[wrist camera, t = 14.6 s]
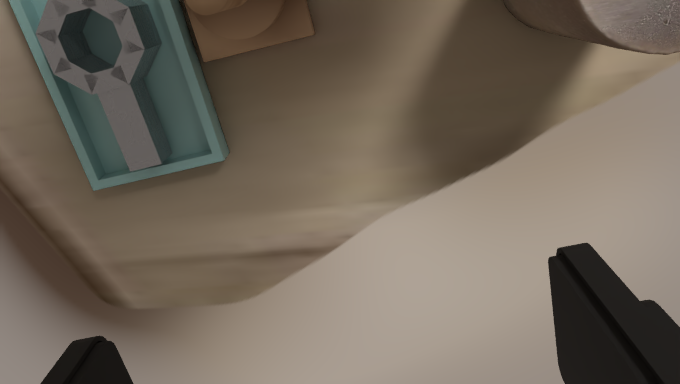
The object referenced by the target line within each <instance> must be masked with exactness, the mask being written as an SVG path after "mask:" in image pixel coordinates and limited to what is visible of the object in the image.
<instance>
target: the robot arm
mask: <svg viewBox="0 0 680 384" xmlns="http://www.w3.org/2000/svg"><path fill="white" fill-rule="evenodd" d="M548 264H549V276H550V285H551V295H552V305H553V316H554V325H555V336H556V346H557V356H558V365H559V369H560V372H561V376H562V378H563V381H564V383H565V384H680V327H679V326H678V325H677V324H676V323H675V322H674V321H673V320H672V319H671V317H670V316H669V315H668V314H667V313H666V312H665V311H664V310H663V309H662V308H661V307H660V306H659V305H658V304H657V303H655V302H654V301H652V300H644V301H639V300H638V299H637V297H636V296H635V295H634V294H633V293H632V292H631V291H630V289H629V288H628V287H627V286H626V285H625V284H624V283H623V282H622V280H621V279H620V278H619V277H618V276H617V275H616V274H615V273H614V271H613V270H612V269H611V268H610V267H609V266H608V265H607V264H606V262H605V261H604V260H603V259H602V258H601V257H600V256H599V255H598V253H597V252H596V251H595V250H594V249H593V248H592V247H591V245H590V244H588V243H582V244H577V245H571V246H566V247H561V248H558V249H557V253H556V256H553V257H549V260H548ZM41 384H133V382H132V380H131V378H130V375H129V373H128V371H127V369H126V367H125V365H124V363H123V361H122V359H121V357H120V354H119V352H118V350H117V348H116V346H115V345H114V343H113V342H111V341H107V340H106V339H105V338H104V337H103V336H96V337H90V338H85V339H80V340H76V341H73V342H72V343H71V344H70V345H69V346H68V348H67V349H66V350H65V352H64V353H63V354H62V356H61V357H60V358H59V360H58V361H57V362H56V364H55V365H54V367H53V368H52V369H51V370H50V372H49V373H48V374H47V376H46V377H45V378H44V380H43V381H42V382H41Z"/></svg>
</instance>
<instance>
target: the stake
mask: <svg viewBox="0 0 680 384" xmlns="http://www.w3.org/2000/svg"><path fill="white" fill-rule="evenodd" d="M183 1H184V4H185V7H186V10H187V13H188V16H189V19H190V22H191V25H192V28H193V31H194V34H195V37H196V40H197V43H198V46H199V49H200V52H201V55H202V58H203V61H204V62H208V61H212V60H216V59H220V58H224V57H228V56H232V55H236V54H240V53H244V52H248V51H252V50H256V49H260V48H264V47H268V46H272V45H276V44H280V43H284V42H288V41H292V40H296V39H300V38H304V37H308V36H311V35H314V34H315V32H314V28H313V24H312V20H311V16H310V12H309V8H308V4H307V0H183Z"/></svg>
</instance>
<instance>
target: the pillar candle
mask: <svg viewBox="0 0 680 384" xmlns="http://www.w3.org/2000/svg"><path fill="white" fill-rule="evenodd" d="M504 4H505V6H506V8H507V9H508V10H509V11H510V12H511V13H512V14H513V15H514V17H516V18H517V19H518V20H519V21H521V22H523V23H524V24H526V25H527V26H529V27H531V28H536V29H539V30H542V31H546V32H549V33H553V34H558V35H561V36H566V37H571V38H576V39H580V40H584V41H588V42H592V43H597V44H602V45H606V46H609V47H614V48H618V49H624V50H630V51H635V52H641V53H647V54H663V55H668V54H671V53H676V52H680V0H504Z"/></svg>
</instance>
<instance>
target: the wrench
mask: <svg viewBox="0 0 680 384" xmlns="http://www.w3.org/2000/svg"><path fill="white" fill-rule="evenodd" d="M93 10H94V11H96V12H97V13H99V14H101V15H103V16H104V17H106V18H108V19H110V20H111V21H113V23H114V26H115V28H116V31H117V33H118V36H119V38H120V41H121V43H122V46H123V47H122V49H121V51H120V54H119V56H118V58H117V61H116V63H115V65H112V64H110V63H108V62H106V61H104V60H103V59H101V58H99V57H97V56H95V55H94V54H92V52H91V50H90V47H89V45H88V43H87V40H86V38H85V35H84V33H83V30H84V27H85V25H86V22H87V20H88V17H89V15H90V12H91V11H93ZM36 36H37V38H38V40H39V42H40V45H41V47H42V49H43V51H44V54H45V56H46V58H47V60H48V63H49V65H50V67H51V69H52V72H53V74H54V75H56V76H58V77H60V78H62V79H64V80H65V81H67V82H69V83H71V84H73V85H75V86H76V87H78V88H80V89H82V90H84V91H86V92H88V93H89V94H91V95H93V94H98V97H99V99H100V101H101V104H102V106H103V109H104V111H105V113H106V116H107V118H108V120H109V123H110V125H111V127H112V130H113V132H114V135H115V137H116V139H117V142H118V144H119V146H120V149H121V151H122V153H123V156H124V158H125V160H126V163H127V165H128V168H129V170H130V172H131V171H135V170H139V169H143V168H147V167H151V166H155V165H159V164H162V163H163V162H164V161H165V160H166V159H167V158H168V157H169V156H170V155H171V154H172V151H171V148H170V145H169V143H168V140H167V138H166V135H165V132H164V130H163V127H162V125H161V122H160V120H159V117H158V114H157V112H156V109H155V107H154V104H153V101H152V99H151V96H150V94H149V91H148V89H147V86H146V83H145V81H144V77H146V76H147V75H148V73H149V71H150V69H151V66H152V64H153V62H154V60H155V58H156V55H157V53H158V51H159V49H160V47H161V44H162V41H161V39H160V36H159V33H158V30H157V28H156V25H155V22H154V20H153V17H152V14H151V11H150V9H149V6H148V4H146V3H145V2H143V1H141V0H47V3H46V6H45V9H44V11H43V14H42V17H41V20H40V22H39V25H38V28H37V31H36Z"/></svg>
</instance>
